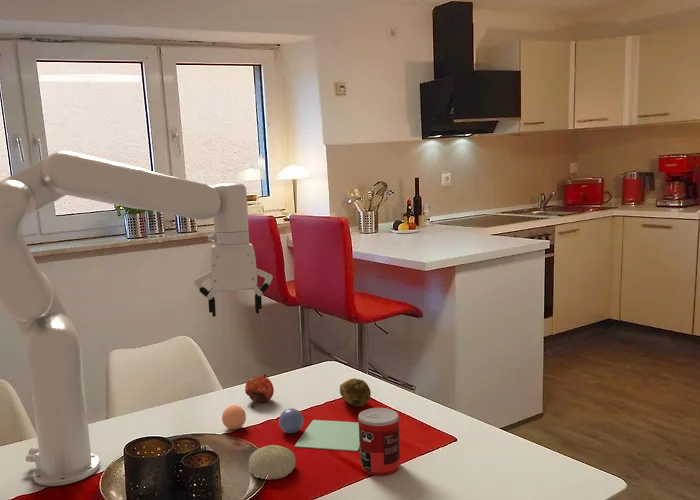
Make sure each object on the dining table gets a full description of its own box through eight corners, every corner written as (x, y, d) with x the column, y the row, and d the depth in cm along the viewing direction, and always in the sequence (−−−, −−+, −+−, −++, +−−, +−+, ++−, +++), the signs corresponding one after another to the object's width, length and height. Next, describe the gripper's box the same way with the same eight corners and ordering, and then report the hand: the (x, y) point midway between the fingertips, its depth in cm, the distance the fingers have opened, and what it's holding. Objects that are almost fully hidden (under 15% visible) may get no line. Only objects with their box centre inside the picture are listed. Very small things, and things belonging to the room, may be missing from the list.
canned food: (360, 458, 130) (358, 407, 129) (399, 457, 130) (397, 406, 129) (359, 477, 123) (357, 423, 121) (401, 476, 123) (399, 422, 121)
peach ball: (218, 432, 146) (217, 409, 145) (228, 422, 151) (227, 400, 150) (241, 434, 144) (239, 411, 144) (250, 424, 150) (248, 402, 149)
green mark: (294, 446, 137) (294, 445, 137) (313, 420, 150) (313, 419, 150) (357, 451, 134) (357, 450, 134) (370, 424, 147) (370, 423, 147)
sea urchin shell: (292, 475, 121) (262, 446, 121) (266, 500, 123) (236, 471, 123) (305, 453, 130) (277, 426, 130) (280, 477, 132) (252, 450, 132)
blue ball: (276, 436, 142) (274, 413, 142) (284, 426, 148) (283, 404, 147) (299, 438, 141) (298, 414, 140) (306, 427, 146) (305, 405, 146)
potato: (373, 396, 164) (372, 367, 163) (370, 416, 151) (369, 384, 150) (341, 396, 165) (340, 367, 164) (336, 416, 152) (334, 385, 151)
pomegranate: (269, 416, 160) (285, 383, 166) (253, 400, 155) (271, 366, 161) (247, 414, 164) (264, 381, 170) (231, 398, 160) (249, 365, 166)
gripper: (191, 243, 136) (196, 320, 138) (272, 238, 139) (275, 314, 141) (192, 239, 143) (197, 313, 145) (269, 235, 146) (272, 307, 149)
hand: (235, 313), depth 143 cm, fingers open, 9 cm apart
